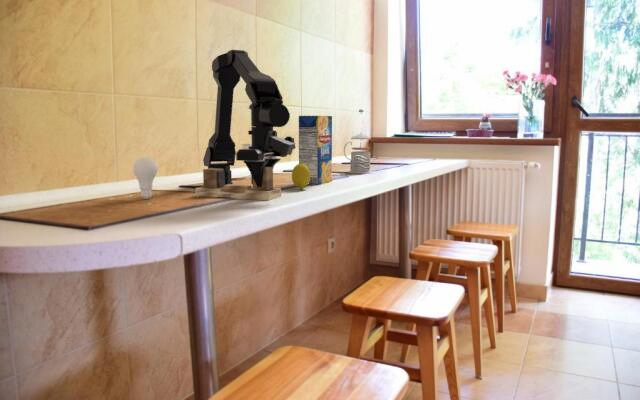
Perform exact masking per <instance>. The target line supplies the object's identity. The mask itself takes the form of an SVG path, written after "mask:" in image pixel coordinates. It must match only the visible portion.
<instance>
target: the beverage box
mask: <svg viewBox="0 0 640 400" xmlns="http://www.w3.org/2000/svg"><path fill="white" fill-rule="evenodd" d="M332 158H333V116H332V115H298V164H299V163H303V164H304V165H306V166H307V167H308V168H309V171H310V181H309V184H308V185H311V184H312V185H314V186H315V185H316V186H318V185H323V184H327V183H332V181H333V177H332V176H333V174H332V173H333V171H332V169H333V168H332V167H333V166H332V165H333V159H332Z"/></svg>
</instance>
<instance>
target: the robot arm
mask: <svg viewBox="0 0 640 400" xmlns="http://www.w3.org/2000/svg"><path fill="white" fill-rule="evenodd" d="M211 71H212V77H213V79H214V82H216V85H217V92H216V104H215V105H216V107H215V123H214V132H213V134H212V136H211V137H210V138H209V139H208V143H207V147H206V150H205V153H204V156H203V159H202V161H203V167H207V169H209V168H218V169H223V170H224V171H225V185H228V184H231V185H234V182H232V181H233V180H232V178H233V177H232V170H231V167H232V166H233V167H234V166H235V161H242V162H243V163H244V164H245V165H246V167H247V169H248V171H249V173H250V175H252V177H253V179H254V181H255V183H256V185H257V187H261V186H262V180H263V170H264V166H266V167H273V169H274V167H275V165H276V164H277V163H278V162H280V161H281V158H285V157H287V156H292V154H293V151H294V150H295V149H296V142H295V137H293V136H289V135H288V136H286V137H285V138H284V137H279V136H278V131H277V130H274V128H283V127H285V126H286V125H287V124H288V123H289V122H290V118H291V116H290V115H291V114H290V112H289V111H290V110H289V109H288V107H287V106H286V105H285V104H284V100H283V95H282V94H281V92H280V90H279V87H278V84H277V81H276V80H275V78H273V77H271V76H270V75H268V74H265V73H263V72H261V71H260V69H259V68H258V67H257V65H256V64H255V63H254V62H253V61H252V59H251V58H250V57H249V53H248V52H247V51H246V50H242V49H231V50H228V51H227V52H226V53H222V54H219V55H217V56H216V57H215V58H214V59H213V60H212V63H211ZM241 78H242V80H243V82H244V83H245V88H244V90H245V93H246V95H247V98H248V99H249V100H250V102H251V104H249V106H248V109H249V110H250V119H251V120H250V125H251V129H250V130H248V132H247V133H248V135H251V136H250V137H251V144H252V146H249V149H242V148H240V149H239V148H238V150H237V151H236V143H235V142H234V140H233V138H232V136H231V126H232V118H233V117H232V115H233V103H234V90H235V87H236V86H237V85H238V84H239V82H240V81H241ZM277 157H280V158H277Z"/></svg>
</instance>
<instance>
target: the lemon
mask: <svg viewBox="0 0 640 400" xmlns="http://www.w3.org/2000/svg"><path fill="white" fill-rule="evenodd" d="M291 179H292V182H293V184H294V186H296V187H297V188H299V190H302V189H303V188H304V187H306V186H308V185H309V184H308V183H309V181H310V171H309V168H308V167H307V166H306V165H304V164H303V163H299V162H298V163H297V164H296V165H295V166H294V167H293V169H292V172H291Z"/></svg>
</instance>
